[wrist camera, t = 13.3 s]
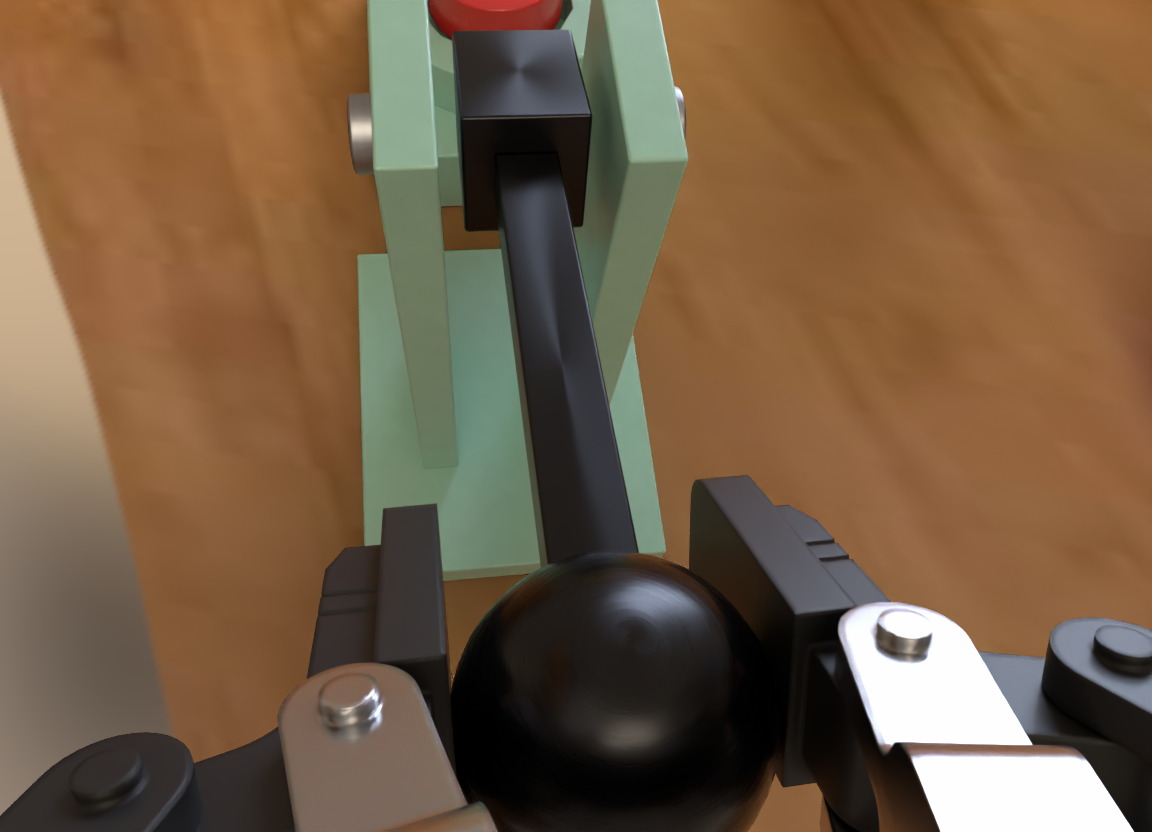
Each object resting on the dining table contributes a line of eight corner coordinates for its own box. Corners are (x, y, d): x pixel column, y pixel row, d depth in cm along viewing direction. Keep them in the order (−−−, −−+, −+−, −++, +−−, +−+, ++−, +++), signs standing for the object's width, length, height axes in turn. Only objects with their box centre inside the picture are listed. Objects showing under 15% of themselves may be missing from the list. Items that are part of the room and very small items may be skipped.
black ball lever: (776, 907, 11) (875, 820, 8) (463, 952, 10) (448, 876, 7) (595, 163, 19) (611, -5, 16) (423, 168, 19) (409, -4, 16)
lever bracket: (659, 562, 27) (836, 320, 14) (369, 588, 26) (249, 353, 13) (614, 262, 31) (716, -154, 18) (361, 273, 30) (263, -162, 17)
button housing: (624, 200, 32) (645, 112, 28) (380, 209, 31) (364, 118, 27) (591, -9, 36) (605, -114, 32) (372, -8, 35) (358, -116, 31)
